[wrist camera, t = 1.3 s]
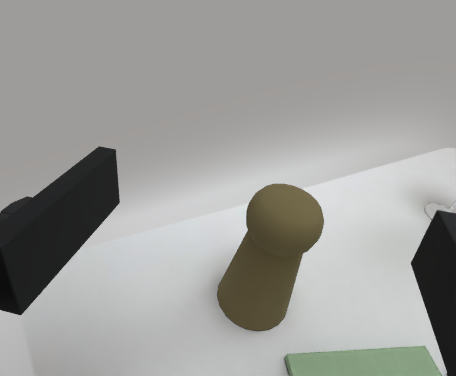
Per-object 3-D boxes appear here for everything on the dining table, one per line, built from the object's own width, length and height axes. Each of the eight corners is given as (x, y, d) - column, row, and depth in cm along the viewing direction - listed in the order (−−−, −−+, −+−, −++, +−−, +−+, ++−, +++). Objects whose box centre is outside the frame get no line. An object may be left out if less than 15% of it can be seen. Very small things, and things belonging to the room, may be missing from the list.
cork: (298, 292, 31) (348, 198, 24) (268, 346, 27) (320, 250, 20) (239, 257, 33) (270, 160, 26) (203, 302, 29) (229, 200, 22)
